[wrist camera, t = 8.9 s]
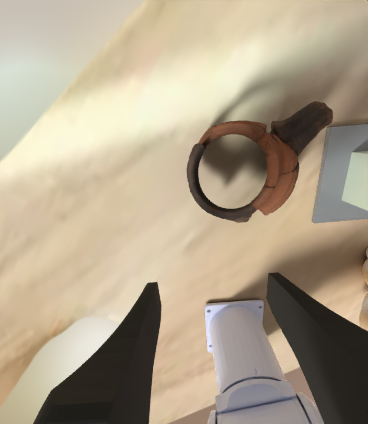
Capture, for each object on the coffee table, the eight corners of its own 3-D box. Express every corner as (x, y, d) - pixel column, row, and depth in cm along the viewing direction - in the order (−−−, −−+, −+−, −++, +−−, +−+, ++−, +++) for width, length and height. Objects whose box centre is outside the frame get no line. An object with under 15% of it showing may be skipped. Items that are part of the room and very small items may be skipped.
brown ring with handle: (247, 225, 23) (226, 252, 16) (196, 168, 25) (157, 170, 18) (353, 145, 17) (393, 133, 10) (276, 76, 19) (264, 25, 12)
